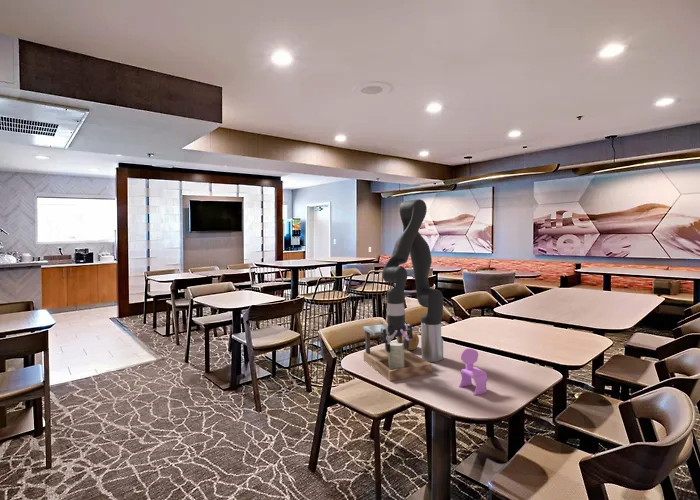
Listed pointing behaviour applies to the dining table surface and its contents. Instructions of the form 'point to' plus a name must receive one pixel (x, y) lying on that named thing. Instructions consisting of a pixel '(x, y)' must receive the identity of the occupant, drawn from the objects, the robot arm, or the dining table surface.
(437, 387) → the dining table surface
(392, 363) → the skincare box
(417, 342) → the potato
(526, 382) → the dining table surface
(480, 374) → the chair
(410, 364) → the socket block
